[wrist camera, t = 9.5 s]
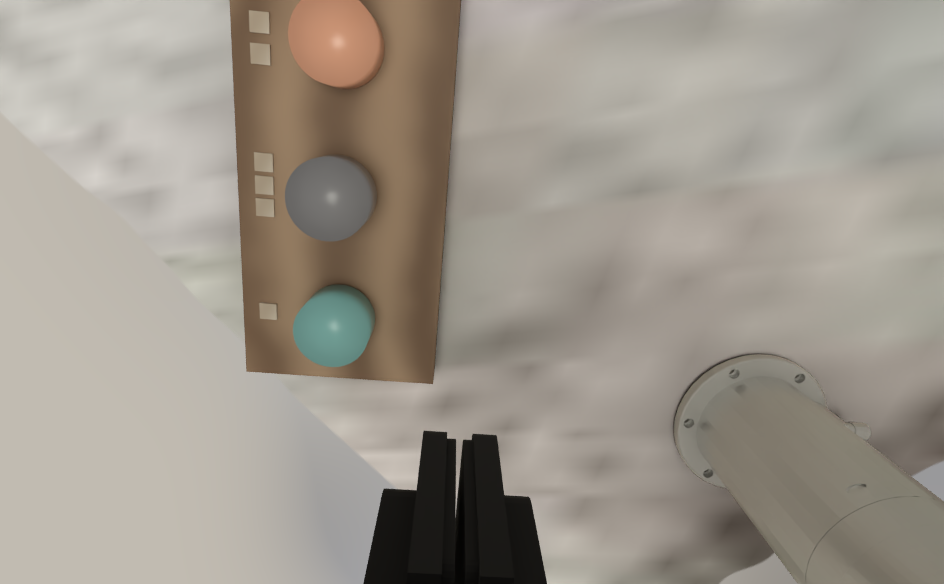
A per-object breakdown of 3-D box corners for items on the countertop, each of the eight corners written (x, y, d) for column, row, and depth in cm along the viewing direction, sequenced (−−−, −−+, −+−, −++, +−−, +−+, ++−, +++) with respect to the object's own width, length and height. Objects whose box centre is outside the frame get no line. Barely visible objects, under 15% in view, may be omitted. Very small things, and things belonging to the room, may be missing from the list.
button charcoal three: (378, 158, 33) (370, 161, 31) (375, 235, 35) (368, 244, 32) (298, 151, 33) (283, 153, 30) (299, 228, 35) (285, 238, 32)
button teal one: (376, 287, 37) (369, 300, 34) (374, 351, 39) (367, 369, 36) (305, 281, 37) (292, 294, 34) (305, 346, 38) (293, 364, 36)
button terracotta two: (385, 5, 32) (378, -7, 29) (382, 92, 33) (375, 89, 30) (302, -4, 32) (287, -17, 29) (303, 85, 33) (288, 81, 30)
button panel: (462, -19, 34) (462, -33, 31) (434, 366, 43) (432, 385, 40) (246, -42, 34) (225, -58, 31) (260, 354, 42) (245, 372, 39)
